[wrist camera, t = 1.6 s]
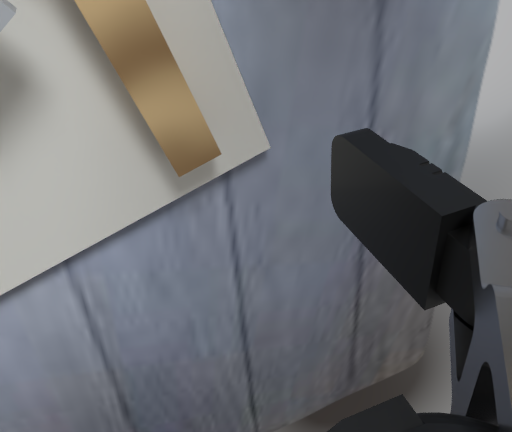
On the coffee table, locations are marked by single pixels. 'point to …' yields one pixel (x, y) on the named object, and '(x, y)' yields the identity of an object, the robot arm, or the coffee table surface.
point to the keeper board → (99, 129)
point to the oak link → (152, 79)
